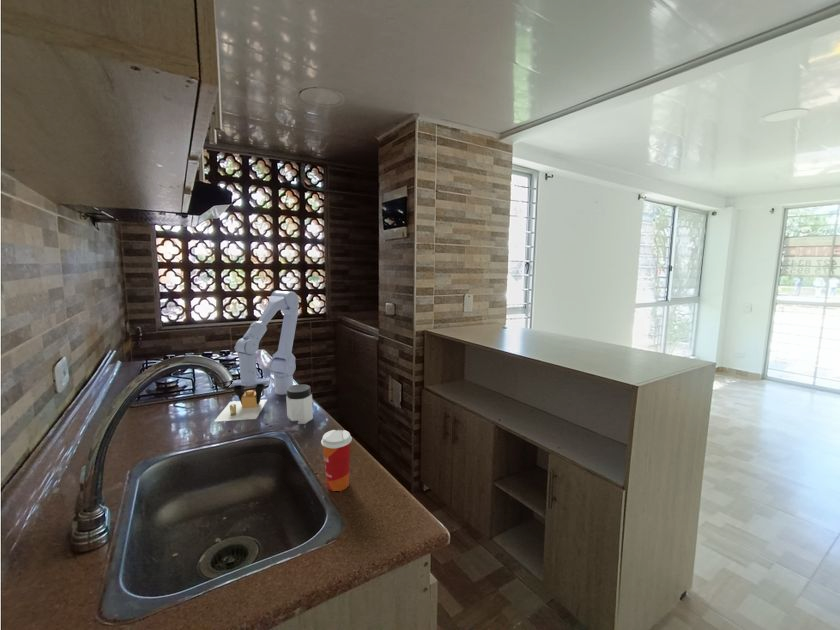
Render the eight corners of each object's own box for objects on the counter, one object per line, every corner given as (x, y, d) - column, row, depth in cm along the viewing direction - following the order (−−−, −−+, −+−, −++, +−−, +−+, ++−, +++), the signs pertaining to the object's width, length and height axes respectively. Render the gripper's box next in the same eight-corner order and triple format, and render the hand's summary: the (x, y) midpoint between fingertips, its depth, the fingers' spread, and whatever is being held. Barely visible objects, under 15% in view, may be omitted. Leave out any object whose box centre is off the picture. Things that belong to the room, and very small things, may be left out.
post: (231, 413, 137) (230, 404, 137) (237, 413, 138) (236, 404, 137) (229, 415, 135) (228, 406, 135) (235, 415, 136) (234, 406, 135)
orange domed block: (245, 402, 147) (244, 389, 146) (259, 402, 148) (258, 388, 147) (242, 408, 142) (241, 394, 141) (256, 407, 143) (255, 393, 142)
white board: (230, 405, 149) (230, 401, 148) (267, 402, 151) (267, 399, 151) (214, 425, 131) (213, 421, 131) (256, 422, 133) (256, 418, 133)
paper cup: (327, 476, 102) (325, 428, 99) (355, 477, 102) (354, 428, 99) (319, 494, 94) (316, 443, 92) (349, 495, 94) (347, 443, 92)
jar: (285, 425, 131) (283, 392, 129) (289, 415, 139) (288, 384, 137) (311, 424, 133) (309, 391, 131) (314, 414, 141) (313, 383, 139)
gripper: (224, 373, 137) (227, 408, 140) (266, 371, 140) (268, 406, 142) (230, 368, 144) (233, 401, 147) (270, 366, 147) (272, 399, 149)
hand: (250, 403), depth 145 cm, fingers closed on orange domed block, 5 cm apart
